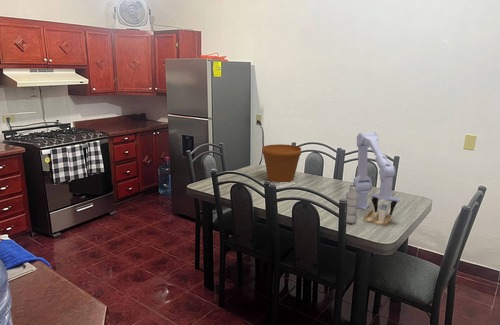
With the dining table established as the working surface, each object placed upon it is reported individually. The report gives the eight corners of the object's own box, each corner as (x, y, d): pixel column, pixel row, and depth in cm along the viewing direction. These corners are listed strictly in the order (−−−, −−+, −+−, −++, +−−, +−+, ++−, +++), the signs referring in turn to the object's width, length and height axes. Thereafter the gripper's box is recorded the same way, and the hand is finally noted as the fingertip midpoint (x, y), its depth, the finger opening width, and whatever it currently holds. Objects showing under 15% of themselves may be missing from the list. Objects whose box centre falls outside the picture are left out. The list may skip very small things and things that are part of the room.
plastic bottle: (354, 219, 193) (357, 184, 189) (358, 224, 187) (361, 188, 182) (342, 219, 193) (344, 184, 188) (346, 225, 186) (348, 188, 182)
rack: (362, 221, 192) (363, 215, 191) (370, 213, 202) (370, 208, 201) (386, 226, 185) (386, 220, 184) (392, 218, 196) (392, 213, 195)
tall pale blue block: (378, 220, 190) (379, 207, 188) (381, 216, 196) (382, 203, 194) (384, 221, 188) (385, 208, 187) (387, 217, 194) (388, 205, 192)
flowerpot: (292, 187, 249) (293, 153, 243) (255, 181, 260) (256, 149, 255) (304, 177, 273) (306, 146, 267) (270, 172, 285) (271, 143, 279)
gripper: (369, 187, 189) (367, 212, 192) (398, 193, 181) (395, 218, 184) (373, 184, 194) (371, 208, 198) (401, 189, 187) (399, 214, 190)
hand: (383, 212), depth 191 cm, fingers open, 7 cm apart
